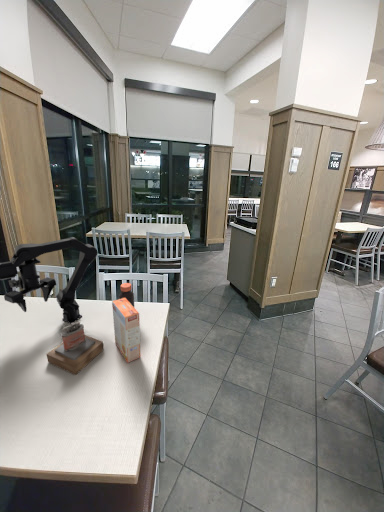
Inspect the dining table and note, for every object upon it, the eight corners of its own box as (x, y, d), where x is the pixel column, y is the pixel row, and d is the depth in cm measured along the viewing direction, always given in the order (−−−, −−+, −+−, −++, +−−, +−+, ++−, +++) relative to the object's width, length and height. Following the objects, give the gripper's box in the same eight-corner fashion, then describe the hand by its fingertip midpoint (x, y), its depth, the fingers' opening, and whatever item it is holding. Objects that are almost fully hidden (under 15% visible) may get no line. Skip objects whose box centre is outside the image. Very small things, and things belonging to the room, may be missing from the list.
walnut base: (78, 339, 97) (77, 330, 95) (103, 349, 92) (102, 339, 91) (48, 362, 85) (45, 351, 83) (75, 375, 80) (73, 364, 78)
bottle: (136, 317, 114) (134, 282, 108) (133, 325, 108) (131, 288, 101) (123, 316, 114) (120, 281, 107) (119, 325, 108) (116, 288, 101)
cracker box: (141, 357, 89) (139, 312, 82) (127, 363, 86) (124, 317, 79) (128, 337, 100) (125, 296, 93) (114, 342, 96) (111, 300, 89)
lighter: (83, 338, 91) (80, 317, 87) (87, 342, 89) (84, 320, 86) (62, 349, 85) (58, 327, 81) (66, 353, 83) (62, 331, 79)
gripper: (37, 263, 104) (43, 293, 110) (-9, 278, 88) (0, 312, 93) (54, 268, 101) (59, 298, 106) (9, 284, 84) (18, 319, 89)
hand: (35, 306), depth 99 cm, fingers open, 9 cm apart
